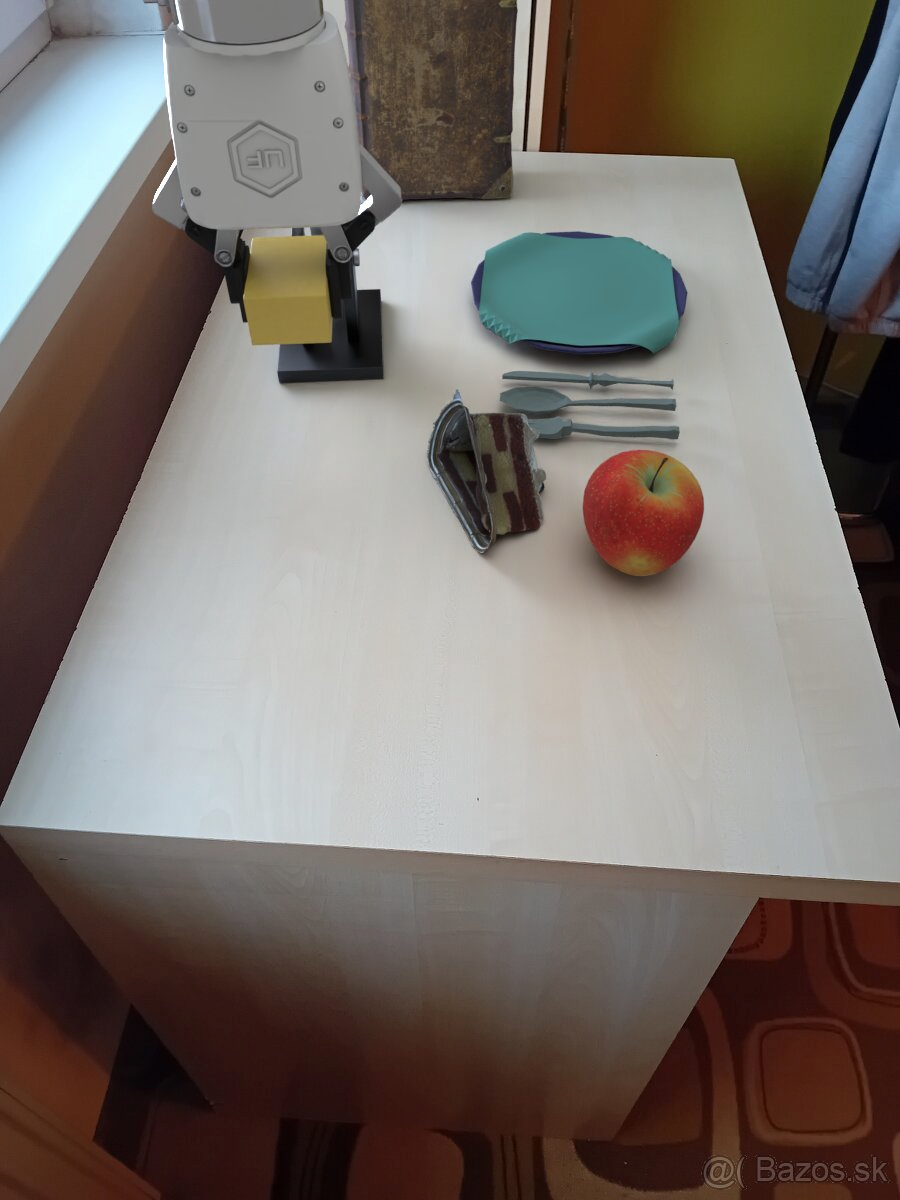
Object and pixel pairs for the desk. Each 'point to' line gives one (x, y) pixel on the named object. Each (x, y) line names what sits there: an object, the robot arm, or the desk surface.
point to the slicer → (340, 341)
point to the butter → (288, 291)
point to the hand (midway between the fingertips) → (294, 306)
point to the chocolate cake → (487, 471)
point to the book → (435, 93)
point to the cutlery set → (580, 316)
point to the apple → (642, 511)
